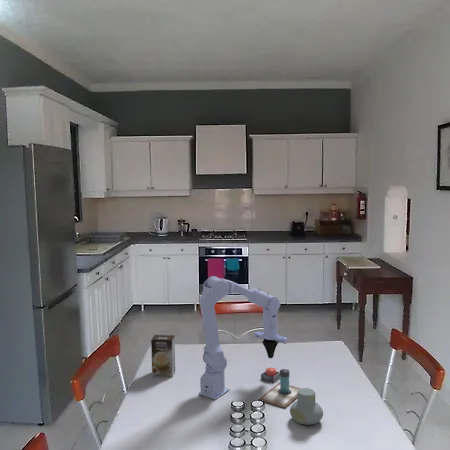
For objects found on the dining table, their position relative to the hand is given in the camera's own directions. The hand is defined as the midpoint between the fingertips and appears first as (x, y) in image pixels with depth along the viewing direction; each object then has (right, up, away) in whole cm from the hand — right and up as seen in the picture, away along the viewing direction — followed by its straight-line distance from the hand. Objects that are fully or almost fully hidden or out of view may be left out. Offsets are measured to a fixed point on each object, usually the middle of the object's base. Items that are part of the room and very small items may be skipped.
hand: (270, 357), depth 179 cm
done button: (0, -8, +1) cm, 8 cm away
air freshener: (+9, -12, -32) cm, 35 cm away
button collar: (0, -9, +1) cm, 9 cm away
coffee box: (-45, -9, +7) cm, 46 cm away
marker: (+4, -9, -13) cm, 16 cm away
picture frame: (+3, -10, -15) cm, 18 cm away
